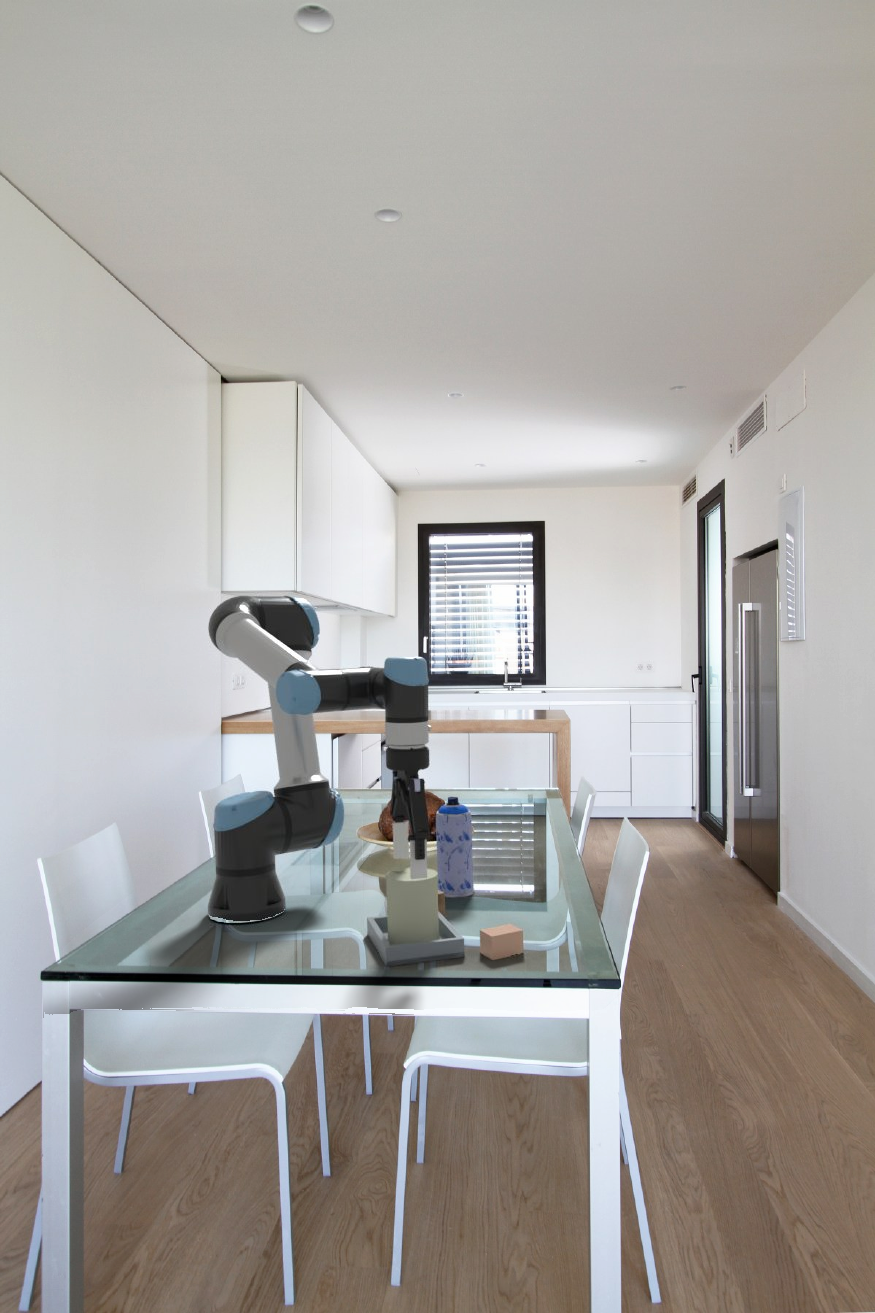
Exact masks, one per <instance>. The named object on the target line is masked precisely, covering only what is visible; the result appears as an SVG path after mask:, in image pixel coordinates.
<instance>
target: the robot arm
mask: <svg viewBox="0 0 875 1313" xmlns="http://www.w3.org/2000/svg"><path fill="white" fill-rule="evenodd" d="M207 628H208V634H209V638H210V641H211V643H212V644H213V645H214V647H215V648H216V649H217V650H219V652H221V653H222V654H223V655H225V656H226V657H229V658H231V659H234V658H235V659H238V660H239V661H240V662H242V664H244V665H245V666H246V667H248V668H249V669H250V670H251V671H253V672H254V673H255V674H257V676H259V677H260V678H261V679H263V680H264V681H265V682H267V687H268V694H269V696H268V697H269V703H270V704H269V705H270V712H271V720H272V729H273V736H274V744H275V750H276V760H277V767H278V776H279V778H278V779H279V780H278V781H277V783H276V784H275V786H274V787H273V793H272V792H271V791H268V790H255V791H251V792H250V791H247V792H243V793H238V794H235V795H231V796H228V797H226V798H224V799H222V800H220V801H219V802H218V803H217V804H216V806H215V807H214V816H213V824H212V827H213V832H214V833H213V834H214V856H215V858H214V859H215V861H214V862H215V880H214V883H213V886H212V890H211V893H210V896H209V900H208V904H207V915H208V914H209V915H210V916H212V917H218V918H223V919H226V920H233V921H250V920H262V919H265V918H268V917H273V916H275V915H276V914H279V913H281V912H283V911H284V909H286V908H287V907H286V906H287V905H286V896H285V893H284V891H283V889H282V885H281V882H280V879H279V877H278V874H277V870H276V856H277V855H278V856H279V855H285V854H288V853H289V854H290V853H295V852H300V851H304V850H311V849H312V850H314V849H319V848H321V847H325V846H329V845H331V844H333V843H334V842H335V841H336V840H337V839H338V838H339V836H340V834H341V832H342V830H343V826H344V822H345V805H344V802H343V799H342V797H341V795H340V792H338V790H336V789H335V788H334V789H333V788H331V787H330V780H329V778H327V777H325V776H324V775H323V774H322V773H321V767H320V766H321V765H320V760H319V759H320V758H319V751H318V744H317V743H318V742H317V735H316V729H315V721H314V714H321V713H331V712H333V713H334V712H343V711H344V712H346V711H361V710H384V713H385V714H384V715H385V717H384V719H385V721H384V729H385V731H384V735H385V744H386V745H387V748H386V749H385V765H386V766H385V767H386V769H388V770H390V771H392V786H391V799H390V809H389V815H390V817H391V820H392V837H393V839H392V843H393V844H392V846H393V849H392V850H393V853H392V855H393V859H394V860H400V859H409V864H410V865H409V866H410V867H409V868H410V877H411V879H420V878H427V868H428V843H427V842H428V838H429V839H430V838H431V830H430V823H429V816H428V815H429V813H428V806H427V801H426V800H427V799H426V786H425V783H426V781H425V779H424V778H420V775H419V771H421V770H422V771H423V770H426V769H428V768H429V767H430V748H429V746H427V744H428V743H429V741H430V740H429V732H430V731H432V726H431V725H429V682H430V679H429V674H428V665H427V664H428V663H427V660H426V659H425V658H424V657H423V656H391V657H387V658H386V659H384V660H385V661H384V664H383V667H374V666H360V667H351V668H329V669H328V668H327V669H323V668H322V669H321V668H319V667H317V666H315V665H314V664H313V663H311V662H310V661H309V659H310V658H311V657H312V656H313V649H314V648H315V647H316V646H317V644H318V643H319V639H320V637H319V635H320V631H321V629H320V621H319V617H318V614H317V612H316V610H315V608H314V606H313V605H312V604H311V603H310V602H309V601H308V600H307V599H305V598H302V597H299V596H297V597H295V596H289V595H283V596H282V595H281V596H278V595H277V596H276V595H275V596H274V595H273V596H271V595H265V596H264V595H261V596H260V595H259V596H257V595H256V596H255V595H238V596H232V597H231V598H227V599H226V600H224V601H223V602H221V603H220V604H218V605H217V606H216V608H215V609H214V610H213V612H212V613H211V616H210V618H209V622H208V627H207ZM409 830H410V831H409ZM409 832H410V834H409ZM286 910H287V909H286Z"/></svg>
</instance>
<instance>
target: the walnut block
mask: <svg viewBox="0 0 875 1313" xmlns="http://www.w3.org/2000/svg"><path fill="white" fill-rule="evenodd" d="M438 911H439V912H440V913H441V914H442V915H443V916H444V917H445V919H446V897H445V893H444V892H441V891H439V890H438ZM446 920H447V919H446Z"/></svg>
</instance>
